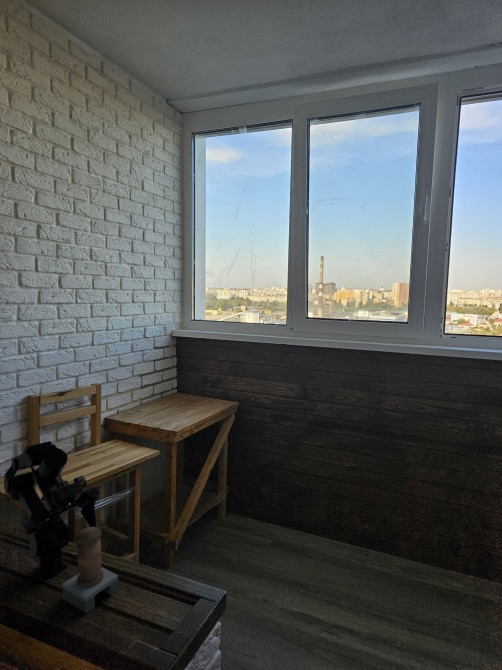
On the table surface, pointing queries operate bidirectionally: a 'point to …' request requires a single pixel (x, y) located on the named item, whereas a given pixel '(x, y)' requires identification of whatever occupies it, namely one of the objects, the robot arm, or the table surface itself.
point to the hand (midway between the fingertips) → (79, 538)
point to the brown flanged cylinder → (89, 557)
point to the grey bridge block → (89, 591)
